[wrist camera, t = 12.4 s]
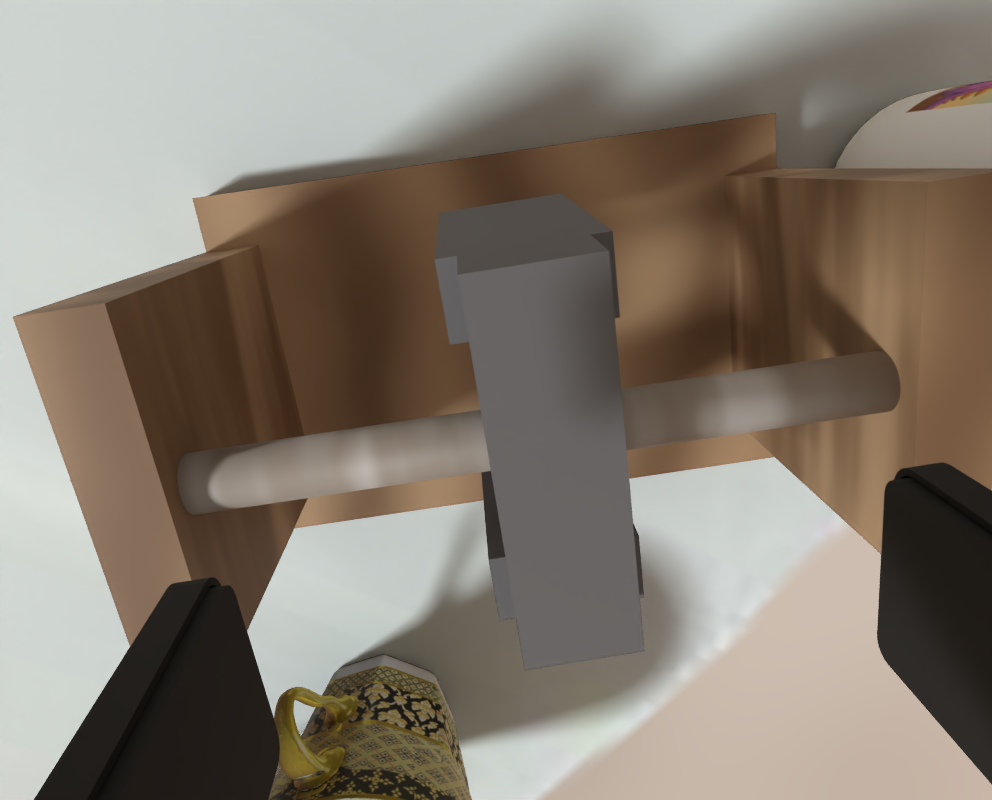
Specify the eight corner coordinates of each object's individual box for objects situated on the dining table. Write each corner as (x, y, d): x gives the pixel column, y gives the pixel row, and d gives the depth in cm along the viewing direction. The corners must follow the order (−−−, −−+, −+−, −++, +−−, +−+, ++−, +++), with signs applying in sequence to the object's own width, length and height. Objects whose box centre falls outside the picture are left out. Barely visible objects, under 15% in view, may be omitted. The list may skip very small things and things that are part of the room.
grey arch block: (439, 212, 23) (432, 278, 14) (560, 193, 23) (633, 246, 14) (486, 481, 27) (504, 673, 18) (590, 464, 27) (664, 647, 18)
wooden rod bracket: (287, 514, 33) (168, 754, 19) (205, 196, 28) (-22, 222, 15) (767, 443, 33) (979, 633, 19) (759, 115, 28) (1027, 68, 15)
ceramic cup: (509, 756, 37) (526, 956, 28) (330, 810, 38) (286, 1025, 28) (422, 547, 33) (408, 699, 24) (223, 612, 34) (132, 785, 24)
